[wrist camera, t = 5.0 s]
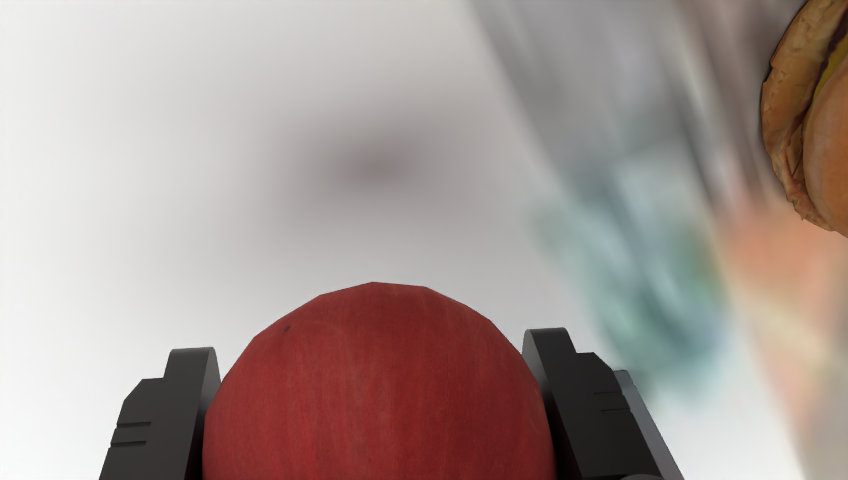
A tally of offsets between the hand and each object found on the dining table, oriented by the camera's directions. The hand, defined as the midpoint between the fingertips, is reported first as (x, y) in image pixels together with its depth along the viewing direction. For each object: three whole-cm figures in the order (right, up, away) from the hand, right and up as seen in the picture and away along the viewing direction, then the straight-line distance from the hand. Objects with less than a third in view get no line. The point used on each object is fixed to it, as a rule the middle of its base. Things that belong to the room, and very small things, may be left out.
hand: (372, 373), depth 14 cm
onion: (0, +1, +2) cm, 2 cm away
